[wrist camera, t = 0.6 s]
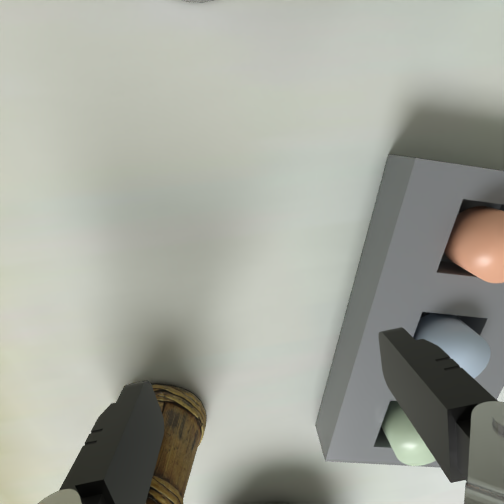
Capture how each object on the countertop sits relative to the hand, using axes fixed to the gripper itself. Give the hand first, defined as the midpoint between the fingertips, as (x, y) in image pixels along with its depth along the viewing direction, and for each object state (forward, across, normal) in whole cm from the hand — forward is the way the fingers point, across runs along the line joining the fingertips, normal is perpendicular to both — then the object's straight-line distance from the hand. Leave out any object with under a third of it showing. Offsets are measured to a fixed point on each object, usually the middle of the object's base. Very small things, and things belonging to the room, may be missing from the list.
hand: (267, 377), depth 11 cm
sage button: (+15, -11, +19) cm, 27 cm away
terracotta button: (+14, -17, +2) cm, 22 cm away
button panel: (+17, -14, +10) cm, 24 cm away
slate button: (+14, -14, +11) cm, 23 cm away
